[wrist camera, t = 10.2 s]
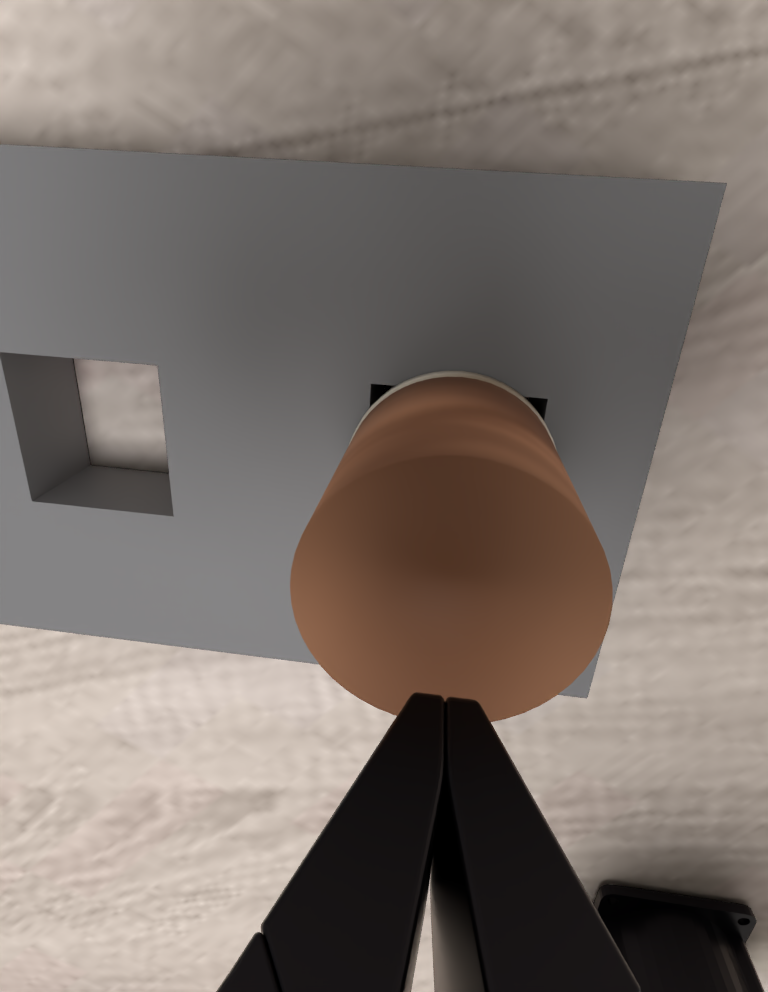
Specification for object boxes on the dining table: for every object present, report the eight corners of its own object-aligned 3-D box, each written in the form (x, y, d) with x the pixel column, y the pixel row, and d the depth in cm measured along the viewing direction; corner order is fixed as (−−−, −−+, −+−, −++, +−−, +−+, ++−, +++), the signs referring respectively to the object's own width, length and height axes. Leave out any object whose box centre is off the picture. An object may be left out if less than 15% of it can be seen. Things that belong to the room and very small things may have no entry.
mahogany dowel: (557, 358, 16) (653, 471, 8) (525, 527, 19) (578, 745, 11) (367, 342, 17) (285, 436, 9) (359, 510, 19) (289, 705, 11)
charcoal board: (675, 194, 14) (727, 182, 12) (569, 637, 20) (587, 698, 18) (-55, 153, 16) (-159, 135, 13) (40, 574, 22) (-18, 621, 19)
